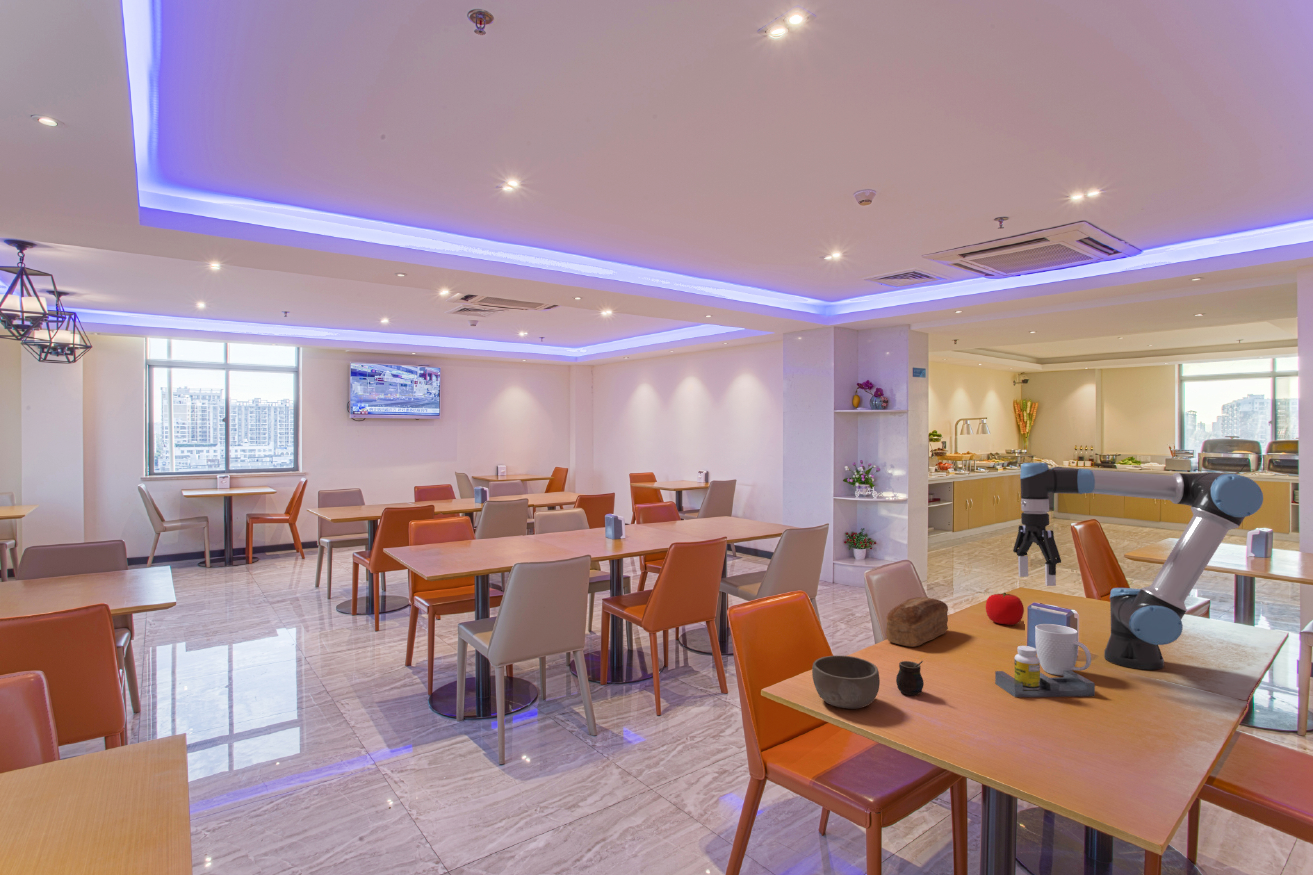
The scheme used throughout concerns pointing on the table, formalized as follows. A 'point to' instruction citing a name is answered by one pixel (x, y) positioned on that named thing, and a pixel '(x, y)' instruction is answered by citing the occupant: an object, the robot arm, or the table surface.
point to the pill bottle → (1027, 668)
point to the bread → (917, 621)
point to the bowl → (846, 681)
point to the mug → (1058, 648)
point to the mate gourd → (909, 678)
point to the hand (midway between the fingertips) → (1036, 581)
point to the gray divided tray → (1048, 685)
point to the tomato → (1004, 609)
